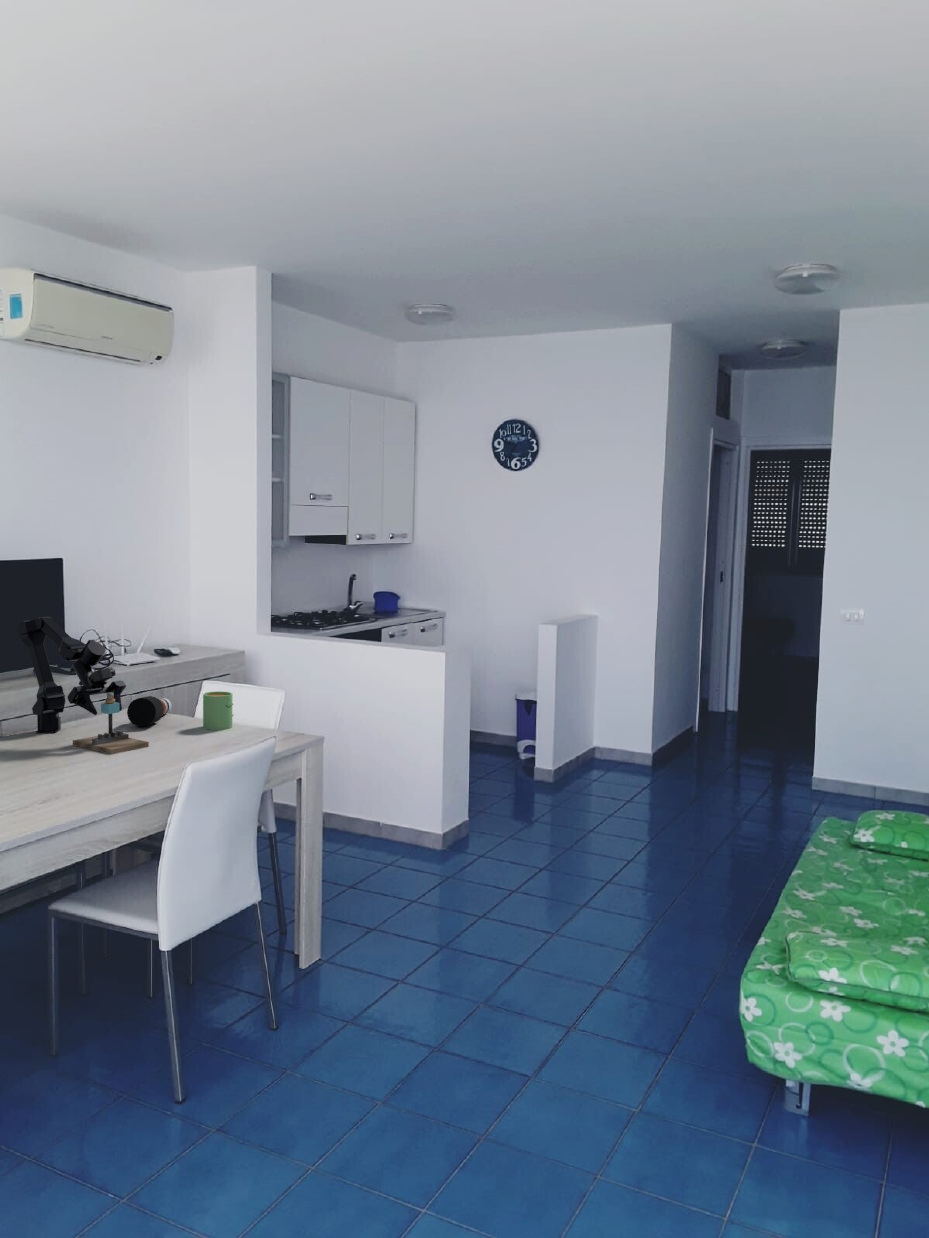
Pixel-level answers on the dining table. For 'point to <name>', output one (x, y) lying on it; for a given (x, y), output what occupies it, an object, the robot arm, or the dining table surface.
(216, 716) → the mug
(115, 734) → the wooden base post stand
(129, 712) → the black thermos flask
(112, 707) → the sleeve
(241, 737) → the dining table surface
